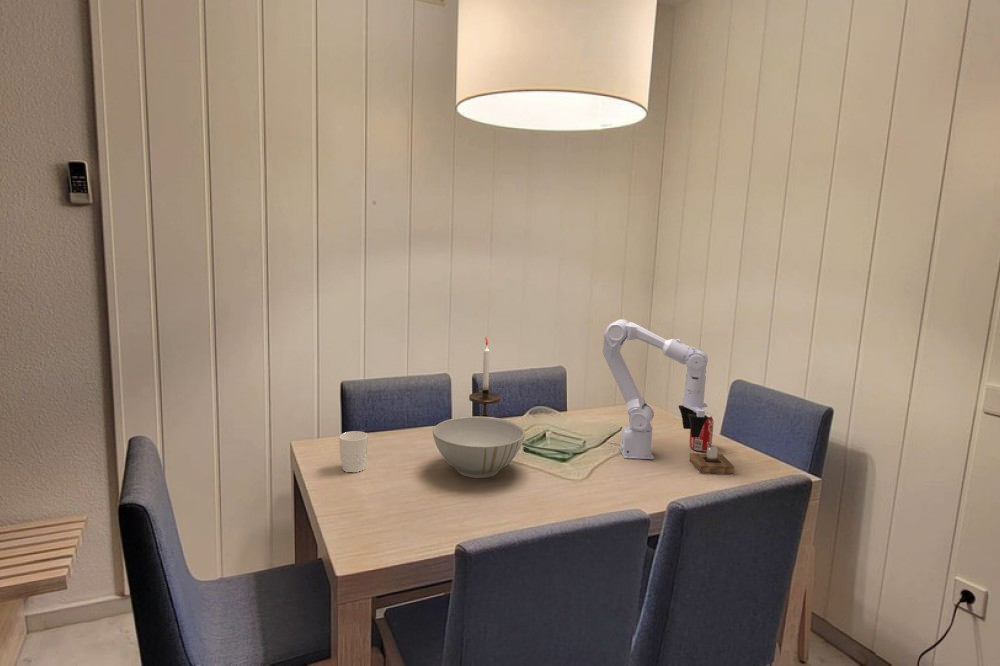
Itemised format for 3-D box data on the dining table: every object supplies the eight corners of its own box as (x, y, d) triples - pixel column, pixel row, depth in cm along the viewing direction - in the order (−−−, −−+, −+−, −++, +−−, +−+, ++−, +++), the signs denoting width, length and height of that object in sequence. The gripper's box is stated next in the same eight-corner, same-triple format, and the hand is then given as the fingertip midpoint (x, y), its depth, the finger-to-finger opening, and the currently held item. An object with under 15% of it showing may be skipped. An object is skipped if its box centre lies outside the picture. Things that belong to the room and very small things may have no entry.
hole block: (700, 473, 174) (700, 465, 174) (689, 460, 184) (690, 453, 184) (733, 474, 174) (734, 466, 174) (721, 461, 184) (721, 454, 184)
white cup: (333, 470, 168) (333, 437, 167) (352, 461, 175) (352, 429, 173) (355, 476, 165) (354, 442, 163) (373, 467, 172) (373, 434, 170)
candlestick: (464, 433, 203) (467, 333, 197) (494, 431, 206) (497, 333, 201) (472, 444, 193) (475, 339, 187) (504, 441, 196) (507, 338, 190)
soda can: (708, 445, 198) (711, 411, 196) (713, 453, 191) (716, 418, 189) (686, 444, 199) (689, 410, 197) (691, 452, 192) (694, 416, 190)
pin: (708, 467, 177) (709, 449, 176) (703, 464, 180) (705, 445, 179) (717, 467, 178) (719, 449, 177) (713, 464, 181) (714, 445, 180)
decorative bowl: (514, 494, 156) (516, 451, 154) (419, 482, 162) (419, 441, 160) (530, 458, 182) (531, 420, 180) (447, 449, 188) (447, 412, 186)
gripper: (716, 396, 171) (712, 441, 173) (699, 384, 185) (696, 425, 188) (692, 396, 171) (688, 440, 173) (677, 383, 185) (674, 424, 188)
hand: (690, 432), depth 180 cm, fingers open, 7 cm apart
